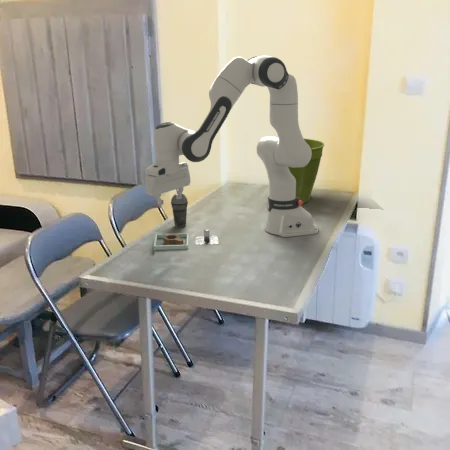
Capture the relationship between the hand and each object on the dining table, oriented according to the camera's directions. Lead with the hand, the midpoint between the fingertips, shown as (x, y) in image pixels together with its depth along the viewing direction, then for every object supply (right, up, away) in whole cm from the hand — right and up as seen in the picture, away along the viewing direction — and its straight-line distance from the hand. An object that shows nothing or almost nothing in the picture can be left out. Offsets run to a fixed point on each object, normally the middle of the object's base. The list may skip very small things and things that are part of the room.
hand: (169, 201), depth 201 cm
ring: (+1, -17, +5) cm, 18 cm away
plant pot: (+55, +4, +63) cm, 83 cm away
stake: (+14, -16, +8) cm, 23 cm away
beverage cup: (+2, -11, +25) cm, 27 cm away
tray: (0, -17, +6) cm, 18 cm away
